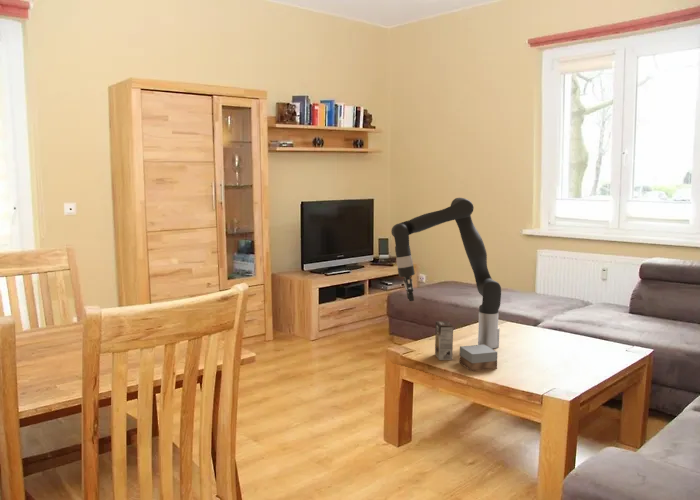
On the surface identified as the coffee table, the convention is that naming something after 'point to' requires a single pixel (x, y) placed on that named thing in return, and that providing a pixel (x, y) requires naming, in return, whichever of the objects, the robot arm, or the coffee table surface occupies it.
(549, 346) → the coffee table surface
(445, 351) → the coffee box
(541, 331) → the coffee table surface
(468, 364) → the base slab
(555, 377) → the coffee table surface
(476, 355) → the top slab
